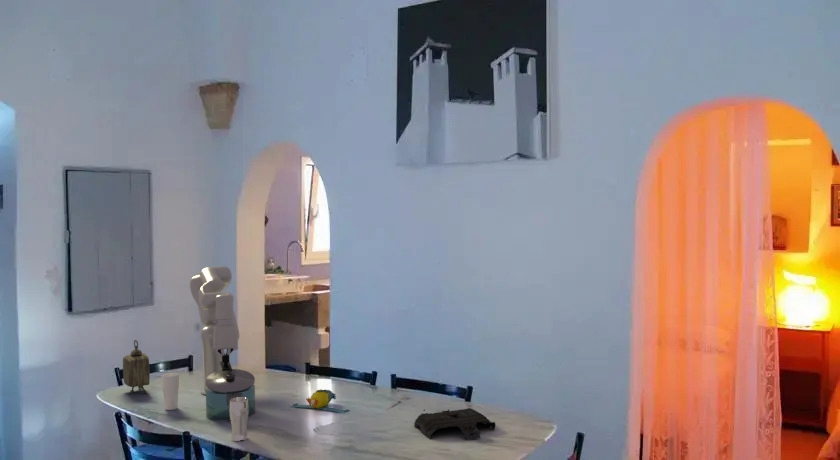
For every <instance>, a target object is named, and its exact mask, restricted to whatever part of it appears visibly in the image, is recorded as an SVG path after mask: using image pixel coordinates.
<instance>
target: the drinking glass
mask: <svg viewBox="0 0 840 460" xmlns="http://www.w3.org/2000/svg"><path fill="white" fill-rule="evenodd" d="M179 375H180V374H179V373H177V372H169V373H164V374H162V377H161V378H162V379H161V382H162V392H163V399H164V400H163V401H164V409H165V410H166V411H174V410H177V409H178V408H179V393H180V390H179V389H180V376H179Z"/></svg>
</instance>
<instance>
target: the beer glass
mask: <svg viewBox="0 0 840 460" xmlns="http://www.w3.org/2000/svg"><path fill="white" fill-rule="evenodd" d="M248 411H249V409H248V398H245V397H237V398H232V399H230V406H229V414H230V420H231V421H230V425H231V437H230V440H231V441H232V440H233V441H232V442H235V441H239V442H241V441H240V440H244V441H246V440H245V439H247V438H249V435H248V429H247V428H248V427H247V426H248V421H249V420H248V419H249V417H248ZM247 440H248V439H247Z"/></svg>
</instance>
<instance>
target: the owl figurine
mask: <svg viewBox="0 0 840 460" xmlns="http://www.w3.org/2000/svg"><path fill="white" fill-rule="evenodd" d="M336 399H337V395H336V393H334V392H333V391H331V390H330V389H318V390H317V389H316V390H315V391H314V392H313V393H312V395H311V396H310V397H306V398H305V400H306V401H307V403H308V404H299V403H293V404H292V405H290V406H289V408H304V409H318V410H323V411H324V410H325V411H328V412H335V413H338V414H343V415H344V414H346V412H348V411H351V410H350V409H342V408H336V407H331V406H328V405H329V404H330V403H331V401H332V400H336Z"/></svg>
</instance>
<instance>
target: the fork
mask: <svg viewBox="0 0 840 460" xmlns="http://www.w3.org/2000/svg"><path fill="white" fill-rule="evenodd" d="M409 396H410V394H405V393H404V394H403V395H402V396H401V398H399V400H396V401H395V402H394V403H392V404H391V405H390V406H388V407H386V408H385V410H384V411H389V410H390V409H392V408H393V407H395V405H396V404H397V403H398V402H399V403H402V402H403V401H405V402H406V401H407V399H408V398H409Z"/></svg>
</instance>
